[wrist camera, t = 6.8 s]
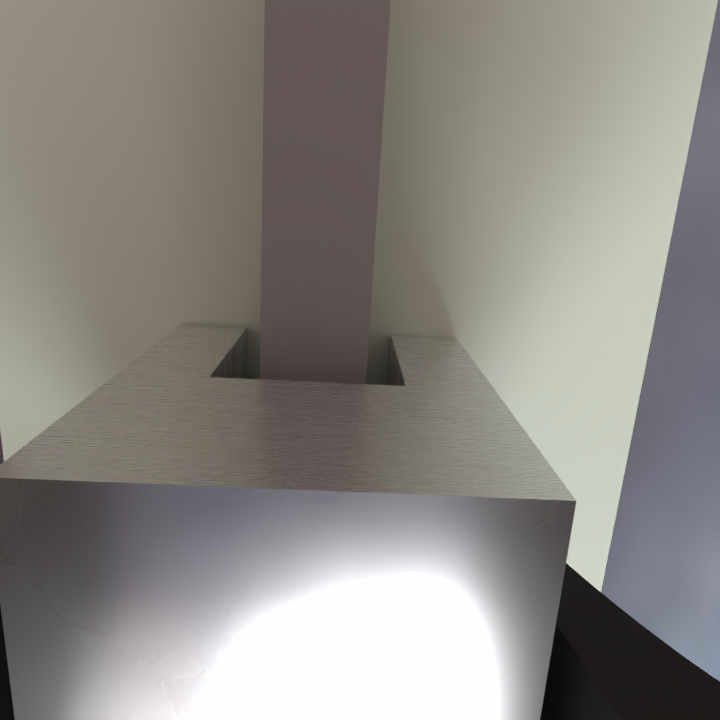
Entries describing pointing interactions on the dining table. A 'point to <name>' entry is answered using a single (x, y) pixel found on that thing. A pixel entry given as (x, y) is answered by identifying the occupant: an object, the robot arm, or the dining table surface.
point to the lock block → (282, 545)
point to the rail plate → (458, 204)
